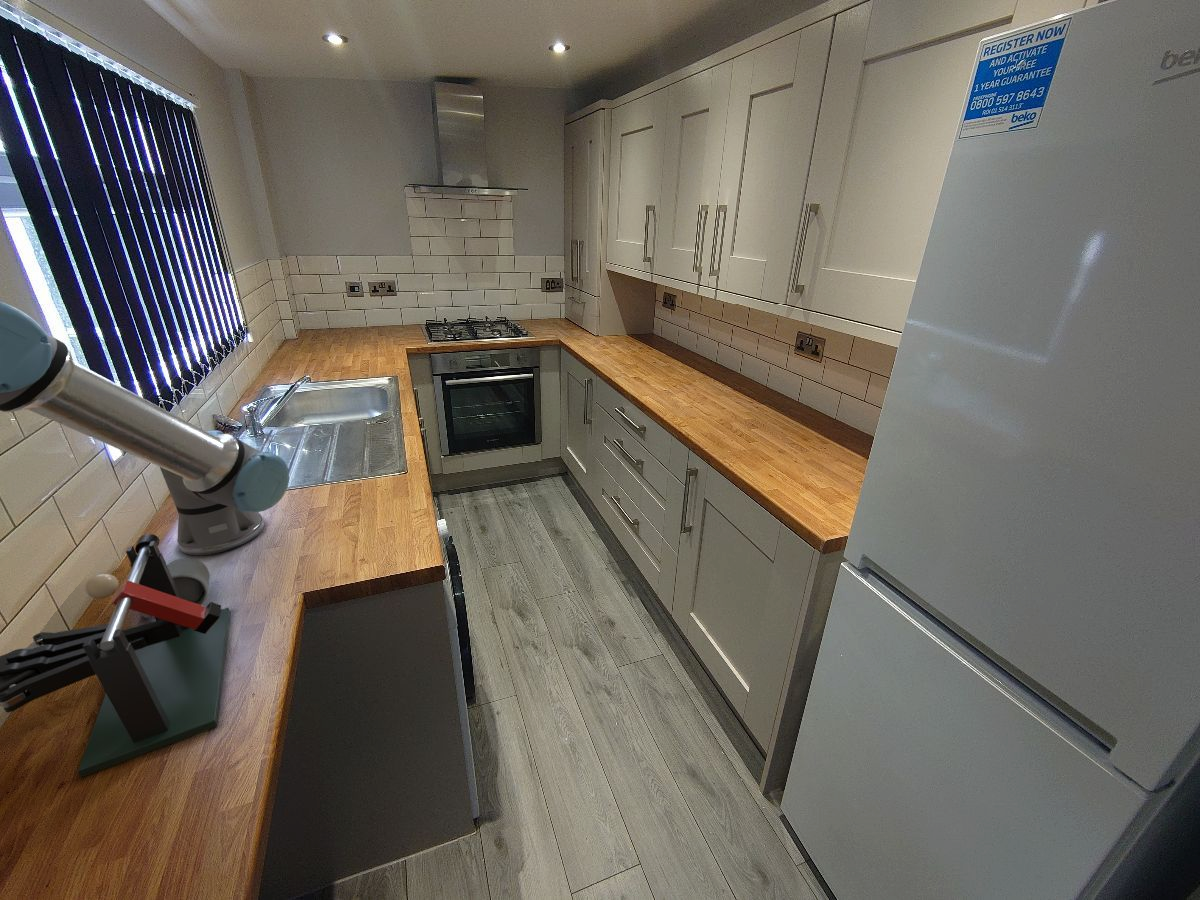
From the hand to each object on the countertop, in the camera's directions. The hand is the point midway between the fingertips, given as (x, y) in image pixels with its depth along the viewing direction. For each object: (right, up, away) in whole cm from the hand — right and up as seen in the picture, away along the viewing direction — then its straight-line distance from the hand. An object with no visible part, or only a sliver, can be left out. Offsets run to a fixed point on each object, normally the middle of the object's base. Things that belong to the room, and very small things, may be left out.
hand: (177, 626), depth 76 cm
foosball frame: (-3, -9, +2) cm, 10 cm away
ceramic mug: (-14, -2, +18) cm, 22 cm away
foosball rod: (+2, +1, +4) cm, 5 cm away
